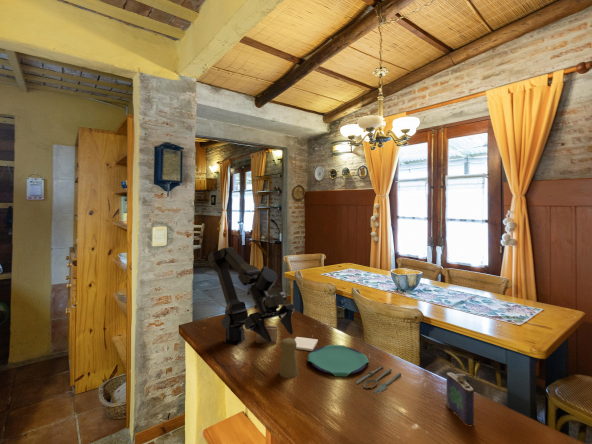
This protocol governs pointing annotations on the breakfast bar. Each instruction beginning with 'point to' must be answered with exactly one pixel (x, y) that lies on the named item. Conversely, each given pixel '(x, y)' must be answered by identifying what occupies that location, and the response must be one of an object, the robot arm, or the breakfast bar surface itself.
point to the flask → (460, 397)
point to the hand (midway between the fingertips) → (281, 338)
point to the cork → (288, 358)
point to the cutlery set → (345, 363)
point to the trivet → (305, 343)
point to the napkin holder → (272, 332)
